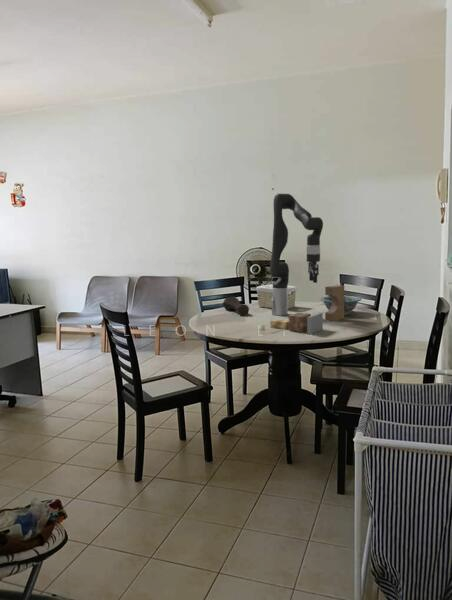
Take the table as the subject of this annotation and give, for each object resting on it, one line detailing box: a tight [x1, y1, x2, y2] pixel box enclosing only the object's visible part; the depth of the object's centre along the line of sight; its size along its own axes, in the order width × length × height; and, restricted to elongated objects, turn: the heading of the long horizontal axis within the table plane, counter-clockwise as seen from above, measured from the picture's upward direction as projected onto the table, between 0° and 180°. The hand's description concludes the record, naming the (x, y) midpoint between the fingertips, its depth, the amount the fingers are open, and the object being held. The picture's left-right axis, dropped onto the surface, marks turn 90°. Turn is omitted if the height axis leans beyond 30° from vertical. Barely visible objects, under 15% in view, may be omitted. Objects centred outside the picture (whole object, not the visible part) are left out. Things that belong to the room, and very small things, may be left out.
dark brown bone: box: [222, 295, 250, 316], centre depth 319 cm, size 11×10×28 cm
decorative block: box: [324, 284, 345, 322], centre depth 282 cm, size 11×6×20 cm, turn 124°
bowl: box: [320, 295, 362, 316], centre depth 302 cm, size 25×25×10 cm
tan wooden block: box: [269, 319, 289, 330], centre depth 267 cm, size 10×4×4 cm, turn 54°
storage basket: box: [256, 283, 297, 309], centre depth 332 cm, size 24×16×15 cm
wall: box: [306, 312, 324, 335], centre depth 254 cm, size 2×14×9 cm, turn 144°
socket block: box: [288, 312, 312, 333], centre depth 259 cm, size 8×10×8 cm
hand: (313, 281), depth 273 cm, fingers open, 8 cm apart
